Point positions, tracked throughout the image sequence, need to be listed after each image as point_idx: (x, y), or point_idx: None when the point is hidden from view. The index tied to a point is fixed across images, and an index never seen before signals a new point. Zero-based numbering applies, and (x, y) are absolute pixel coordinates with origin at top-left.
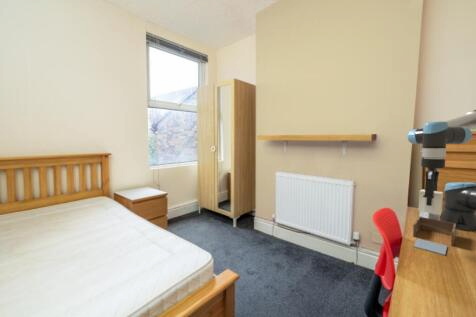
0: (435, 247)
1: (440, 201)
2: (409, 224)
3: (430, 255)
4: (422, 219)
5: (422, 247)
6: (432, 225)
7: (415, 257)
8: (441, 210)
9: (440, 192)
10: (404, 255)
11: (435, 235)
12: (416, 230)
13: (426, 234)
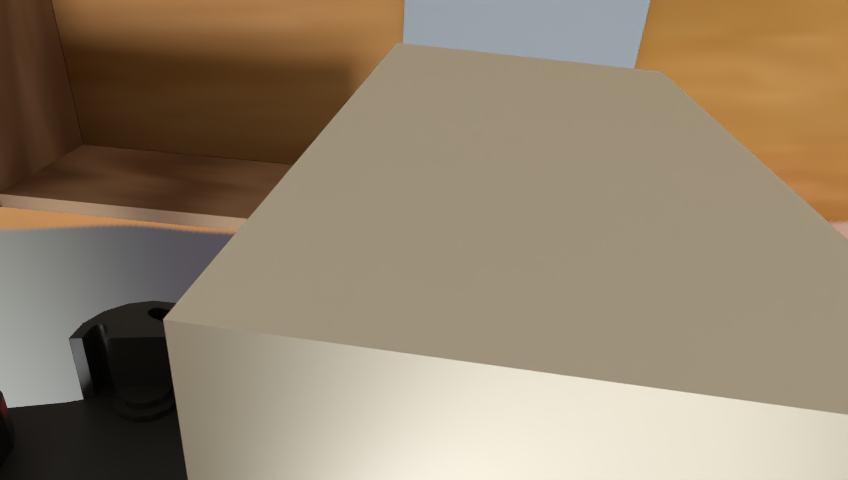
0: (533, 12)
1: (793, 212)
2: (56, 221)
3: (729, 44)
4: (9, 163)
5: None
6: (18, 58)
7: (835, 144)
8: (471, 64)
9: (501, 445)
10: (832, 212)
11: (169, 15)
12: (259, 176)
13: (209, 88)
